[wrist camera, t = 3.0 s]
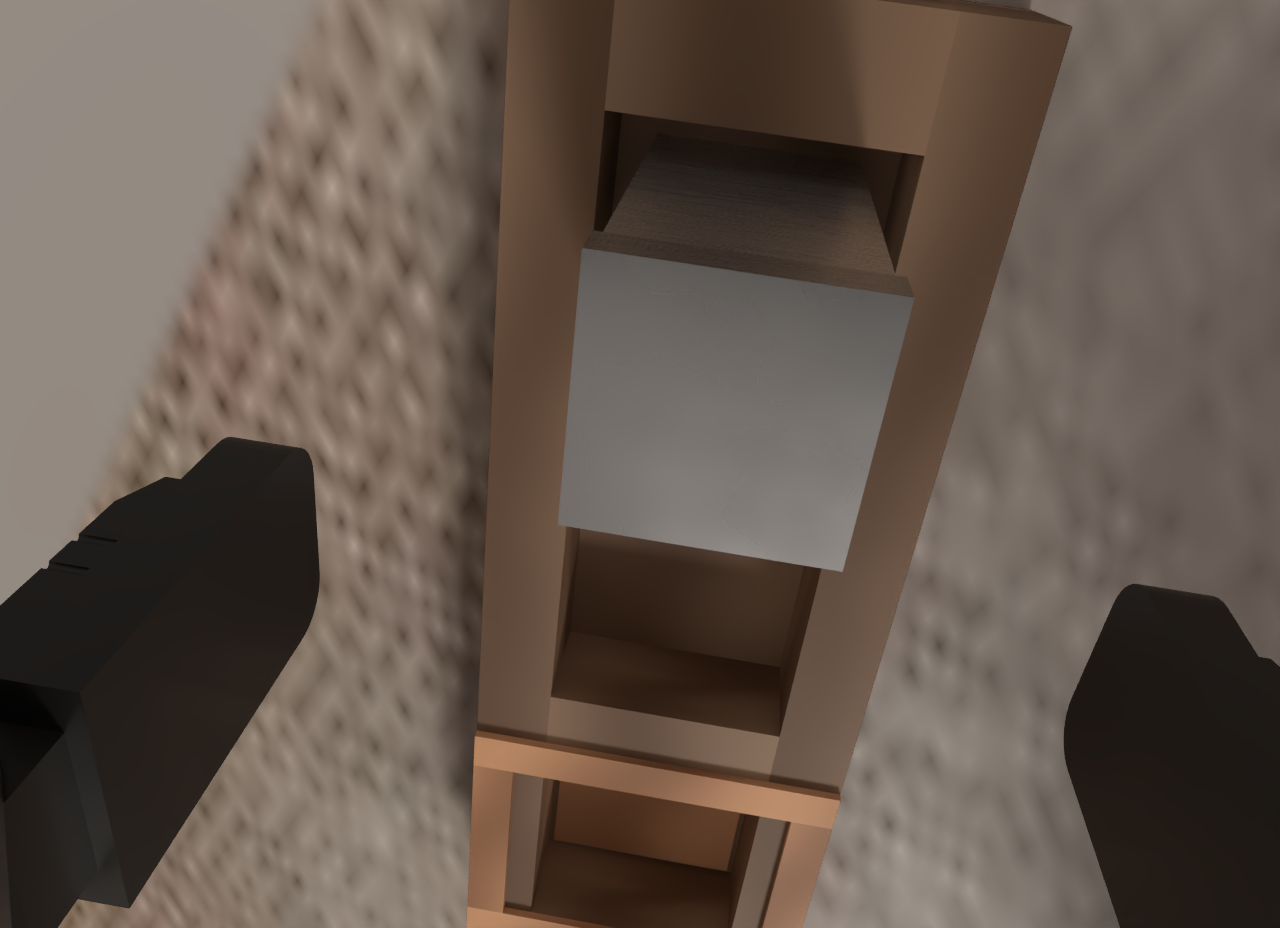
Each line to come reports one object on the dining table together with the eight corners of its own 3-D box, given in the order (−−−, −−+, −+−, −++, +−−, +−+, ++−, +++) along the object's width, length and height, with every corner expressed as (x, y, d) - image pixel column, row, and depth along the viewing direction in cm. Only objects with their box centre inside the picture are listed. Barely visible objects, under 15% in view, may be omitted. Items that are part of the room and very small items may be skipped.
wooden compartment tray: (1031, 10, 18) (1076, 27, 16) (775, 917, 31) (775, 1015, 28) (548, -55, 19) (508, -49, 16) (493, 864, 32) (465, 956, 29)
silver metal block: (867, 157, 19) (914, 297, 12) (822, 355, 22) (842, 571, 14) (653, 127, 20) (581, 247, 13) (630, 325, 22) (557, 524, 15)
